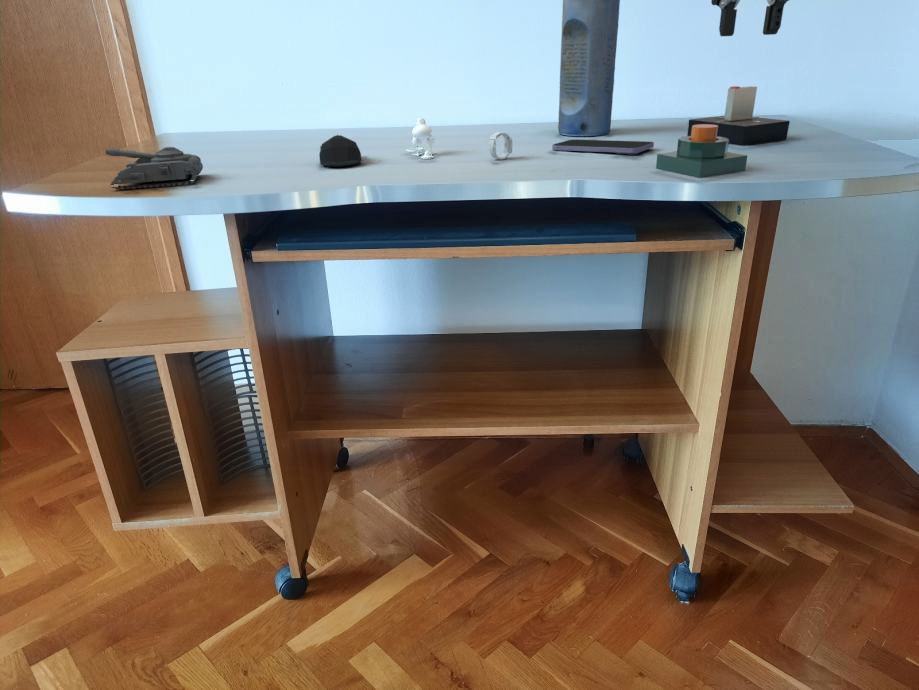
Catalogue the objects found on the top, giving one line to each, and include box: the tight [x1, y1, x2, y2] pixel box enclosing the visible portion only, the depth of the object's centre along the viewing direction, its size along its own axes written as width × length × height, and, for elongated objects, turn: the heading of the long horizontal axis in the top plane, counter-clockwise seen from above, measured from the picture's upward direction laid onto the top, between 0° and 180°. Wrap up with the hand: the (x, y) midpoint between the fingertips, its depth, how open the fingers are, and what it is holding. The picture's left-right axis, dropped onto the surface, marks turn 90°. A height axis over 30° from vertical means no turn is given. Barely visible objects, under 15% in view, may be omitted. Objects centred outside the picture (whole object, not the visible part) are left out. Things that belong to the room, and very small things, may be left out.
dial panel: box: [686, 115, 791, 147], centre depth 107 cm, size 12×10×3 cm
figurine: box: [406, 117, 437, 160], centre depth 104 cm, size 5×10×6 cm, turn 8°
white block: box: [724, 85, 758, 121], centre depth 105 cm, size 5×1×5 cm, turn 116°
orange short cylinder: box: [691, 124, 718, 141], centre depth 84 cm, size 3×3×2 cm
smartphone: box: [551, 139, 655, 156], centre depth 102 cm, size 7×1×15 cm
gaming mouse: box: [318, 134, 362, 168], centre depth 102 cm, size 6×15×4 cm, turn 11°
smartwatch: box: [487, 131, 513, 161], centre depth 98 cm, size 4×2×4 cm, turn 123°
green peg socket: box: [655, 135, 748, 179], centre depth 85 cm, size 8×8×4 cm
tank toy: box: [105, 146, 204, 190], centre depth 90 cm, size 12×10×5 cm
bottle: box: [557, 0, 621, 137], centre depth 113 cm, size 10×10×30 cm
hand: (747, 35), depth 97 cm, fingers open, 8 cm apart
